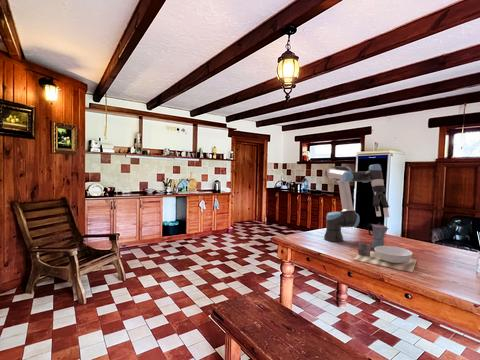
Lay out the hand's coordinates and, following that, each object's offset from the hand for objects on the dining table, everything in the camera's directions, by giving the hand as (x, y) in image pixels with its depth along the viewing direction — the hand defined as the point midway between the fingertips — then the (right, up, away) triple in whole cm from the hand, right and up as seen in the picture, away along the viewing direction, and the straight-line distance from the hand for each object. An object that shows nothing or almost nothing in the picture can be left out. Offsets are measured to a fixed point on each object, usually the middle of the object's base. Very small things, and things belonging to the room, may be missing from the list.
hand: (383, 216), depth 171 cm
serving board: (-2, -28, -6) cm, 28 cm away
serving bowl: (+1, -27, -9) cm, 29 cm away
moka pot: (+6, -27, +19) cm, 34 cm away
